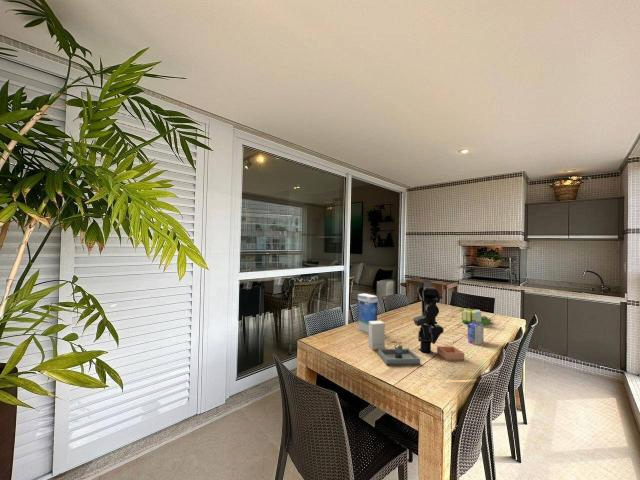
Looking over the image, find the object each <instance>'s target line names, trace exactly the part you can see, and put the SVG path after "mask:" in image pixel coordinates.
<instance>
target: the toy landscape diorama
mask: <svg viewBox="0 0 640 480" xmlns="http://www.w3.org/2000/svg"><path fill="white" fill-rule="evenodd" d="M498 310H499V309H498ZM459 312H461V315H462V317H461V322H462V323H464V324H467V325H468V324H471V323H473V322H475V321H476V322H477V323H481V324H483V326H487V325H489V324H490V323H491V321H493V320H492V319H491V318H489V317H488V316H486V315H485V316H484V315H482V311H481V310H480V309H474V308H472V309H471V308H470V307H468V308H462V309H461V308H459ZM472 320H475V321H473V322H472Z"/></svg>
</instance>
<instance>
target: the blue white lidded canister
mask: <svg viewBox="0 0 640 480" xmlns="http://www.w3.org/2000/svg"><path fill="white" fill-rule="evenodd" d="M369 321H378V295H374V294H369V293H358V294H357V330H359V331H361V332H364V333H366V334H368V335H369Z"/></svg>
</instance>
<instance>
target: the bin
mask: <svg viewBox="0 0 640 480" xmlns="http://www.w3.org/2000/svg"><path fill="white" fill-rule="evenodd" d="M436 354H437V355H438V356H440V357H441V358H442V359H444V361H447V362H449V361H450V362H451V361H452V362H453V361H454V362H455V361H456V362H457V361H465V352H463V351H462V350H461V349H459V348H458V347H456V346H452V345H449V346H448V345H447V346H444V345H443V346H441V345H439V346H438V345H437V347H436Z"/></svg>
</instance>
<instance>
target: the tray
mask: <svg viewBox="0 0 640 480" xmlns="http://www.w3.org/2000/svg"><path fill="white" fill-rule="evenodd" d="M377 354H378V356H379V358H380V359H381V360H382V361H383V363H384V364H385V365H386V366H416V365H418V366H419V365H421V358H420V357H419V356H417V355H416V353H414V351H412V350H411V349H410V348H402V358H398V359H396V358H395V348H385V349H378V351H377Z"/></svg>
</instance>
